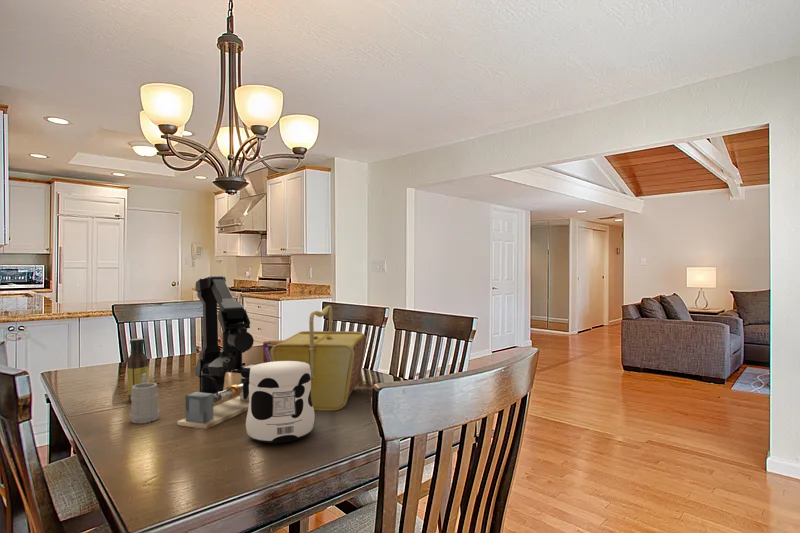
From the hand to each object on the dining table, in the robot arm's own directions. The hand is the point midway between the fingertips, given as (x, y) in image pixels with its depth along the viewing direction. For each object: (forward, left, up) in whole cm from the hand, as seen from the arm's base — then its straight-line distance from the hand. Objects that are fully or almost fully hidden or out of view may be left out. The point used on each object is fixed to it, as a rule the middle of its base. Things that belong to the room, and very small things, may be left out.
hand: (232, 397), depth 147 cm
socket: (0, -14, -3) cm, 14 cm away
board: (0, 0, -4) cm, 4 cm away
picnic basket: (+21, +19, -4) cm, 28 cm away
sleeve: (0, +11, -3) cm, 11 cm away
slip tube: (0, +3, 0) cm, 3 cm away
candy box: (-8, +35, -4) cm, 36 cm away
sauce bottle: (-37, -1, -4) cm, 37 cm away
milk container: (+27, -15, -4) cm, 31 cm away
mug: (-19, -15, -4) cm, 24 cm away
